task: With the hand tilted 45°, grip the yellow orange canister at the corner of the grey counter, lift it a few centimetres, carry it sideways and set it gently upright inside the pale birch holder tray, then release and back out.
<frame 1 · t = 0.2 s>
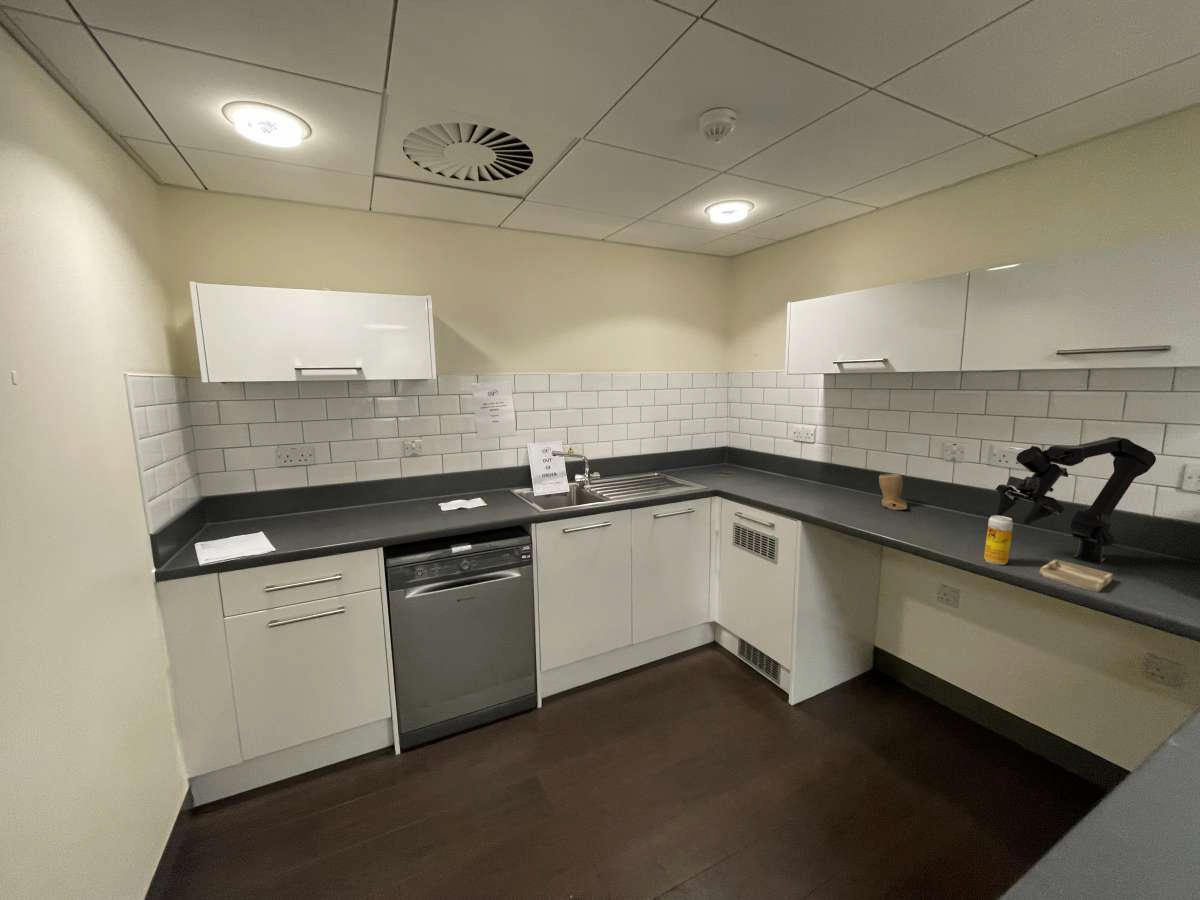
hand: (1011, 519, 156), 14 cm above the countertop, tool tilted 35°, fingers open, 9 cm apart
tan boot: (891, 506, 222), on the countertop
holder tray: (1074, 578, 145), on the countertop
yellow orange canister: (995, 562, 158), on the countertop
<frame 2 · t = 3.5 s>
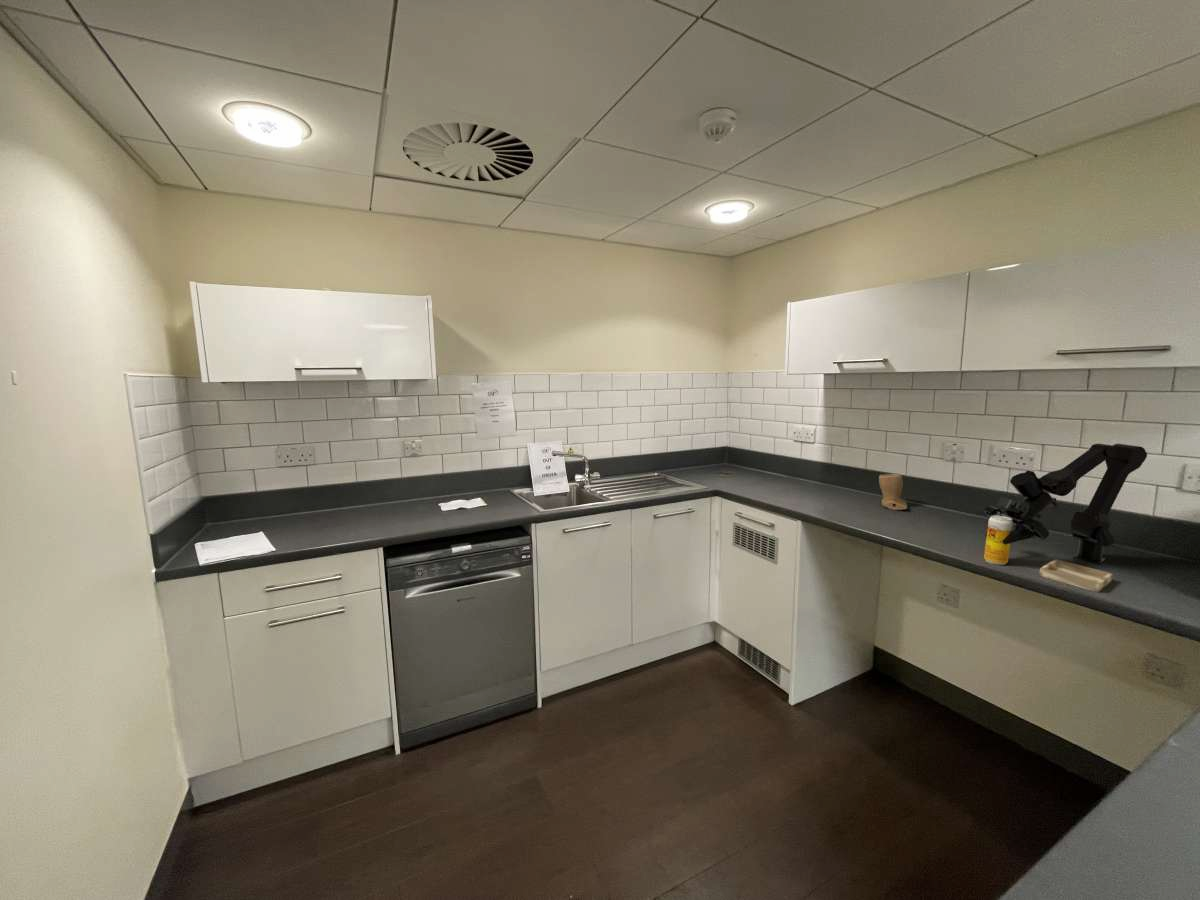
hand: (994, 539, 156), 8 cm above the countertop, tool tilted 45°, fingers closed on yellow orange canister, 6 cm apart
yellow orange canister: (995, 562, 158), on the countertop, touching gripper
everything else where it was.
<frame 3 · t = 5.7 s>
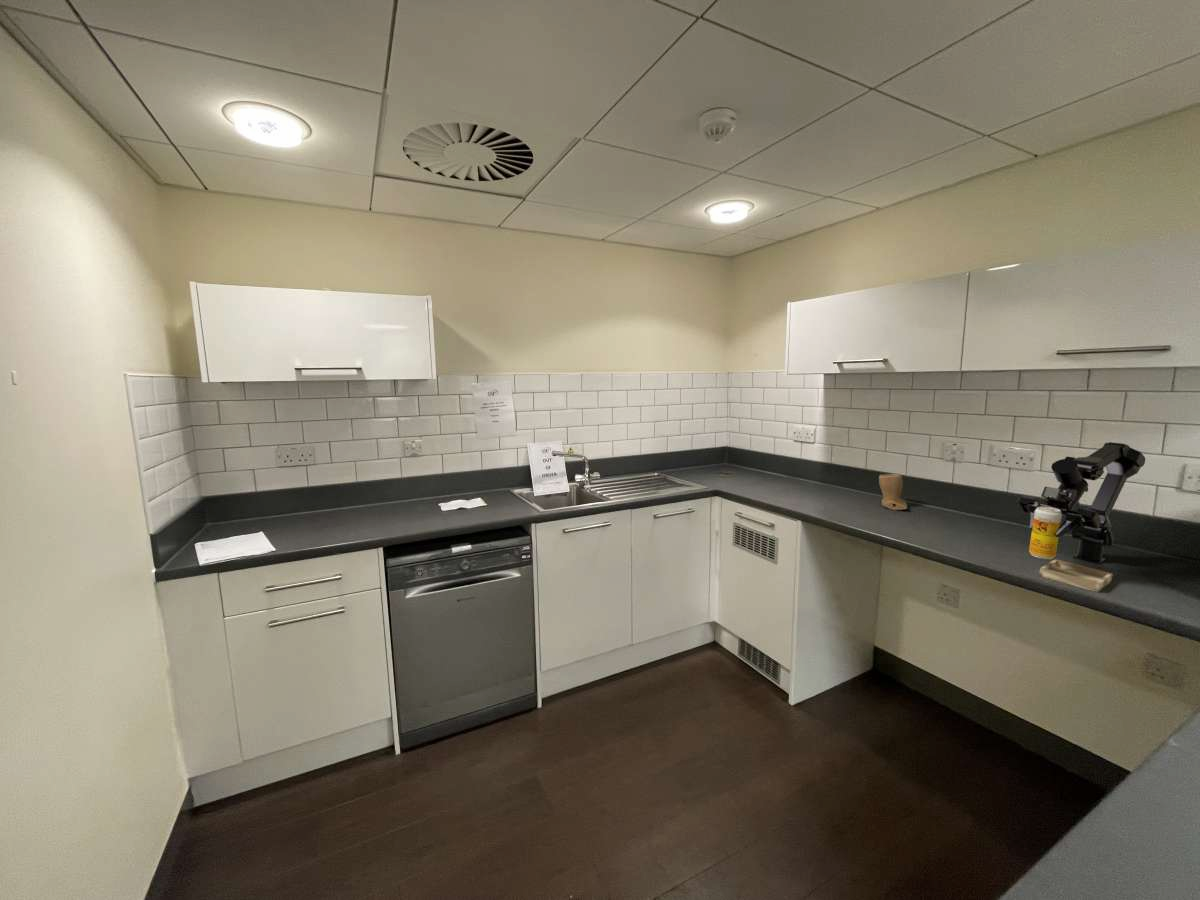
hand: (1043, 533, 146), 13 cm above the countertop, tool tilted 45°, fingers closed on yellow orange canister, 6 cm apart
yellow orange canister: (1041, 556, 148), point 5 cm above the countertop, touching gripper
everything else where it was.
when the fingers open (9 cm above the countertop, at t = 7.8 s): yellow orange canister stays where it is, resting on holder tray.
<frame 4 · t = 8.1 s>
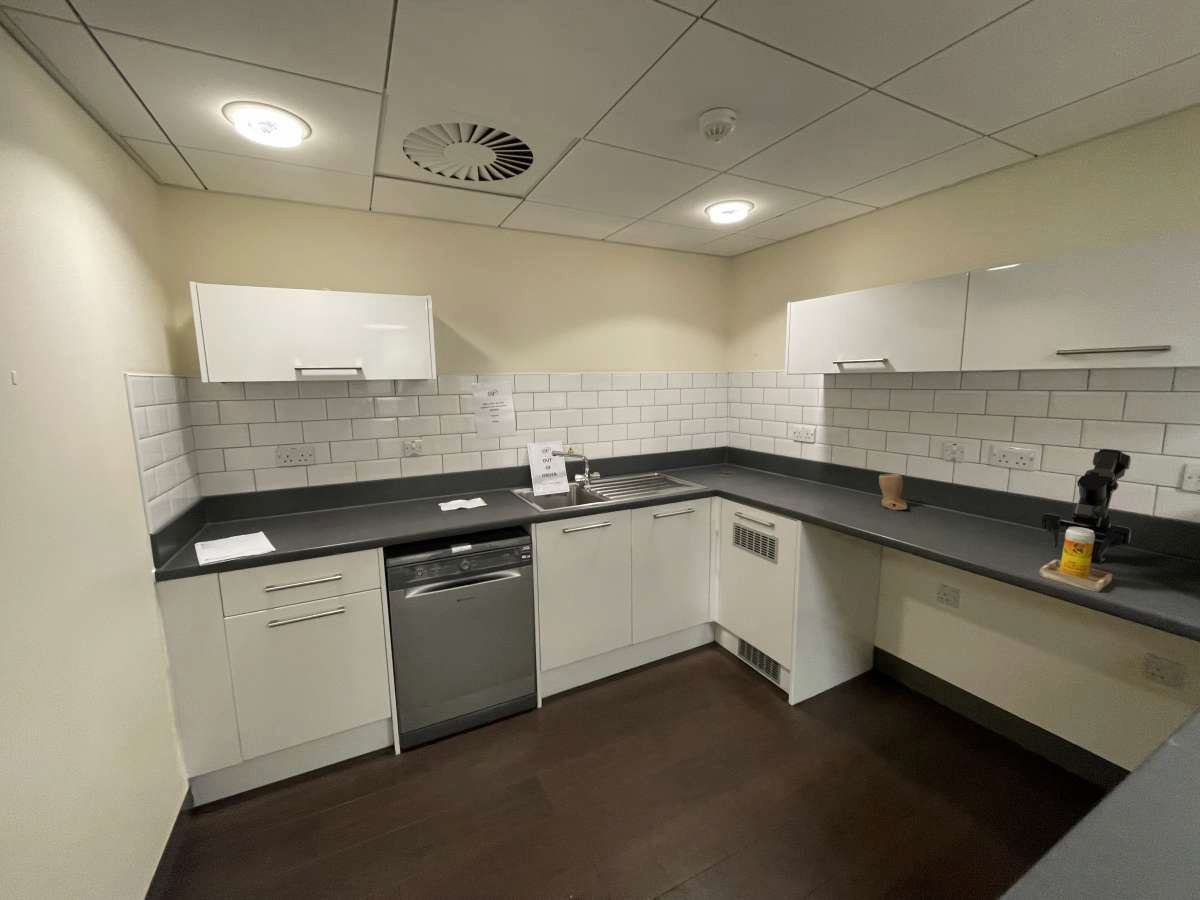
hand: (1076, 551, 142), 9 cm above the countertop, tool tilted 45°, fingers open, 9 cm apart
yellow orange canister: (1072, 578, 144), point 1 cm above the countertop, touching holder tray
everything else where it was.
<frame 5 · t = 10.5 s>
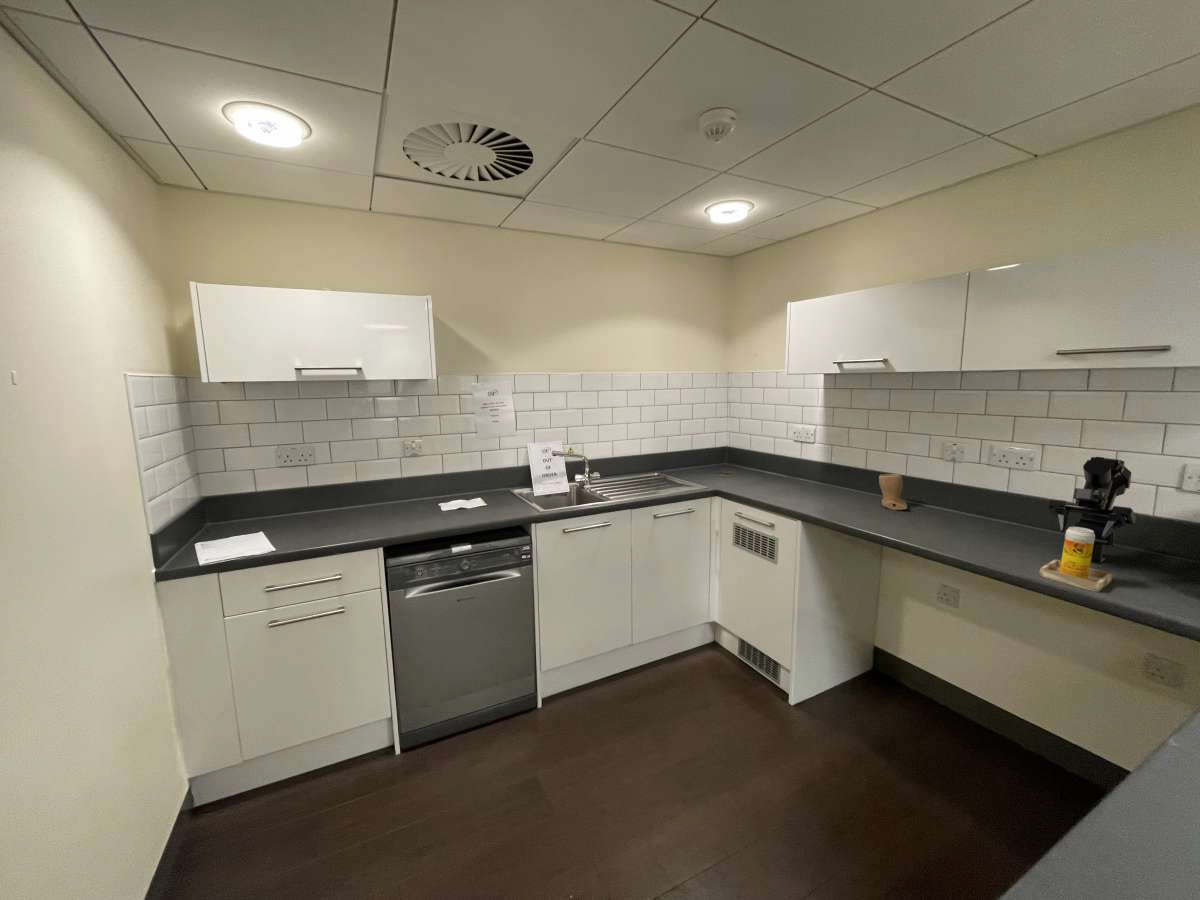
hand: (1081, 534, 147), 13 cm above the countertop, tool tilted 40°, fingers open, 9 cm apart
nothing on the countertop moved.
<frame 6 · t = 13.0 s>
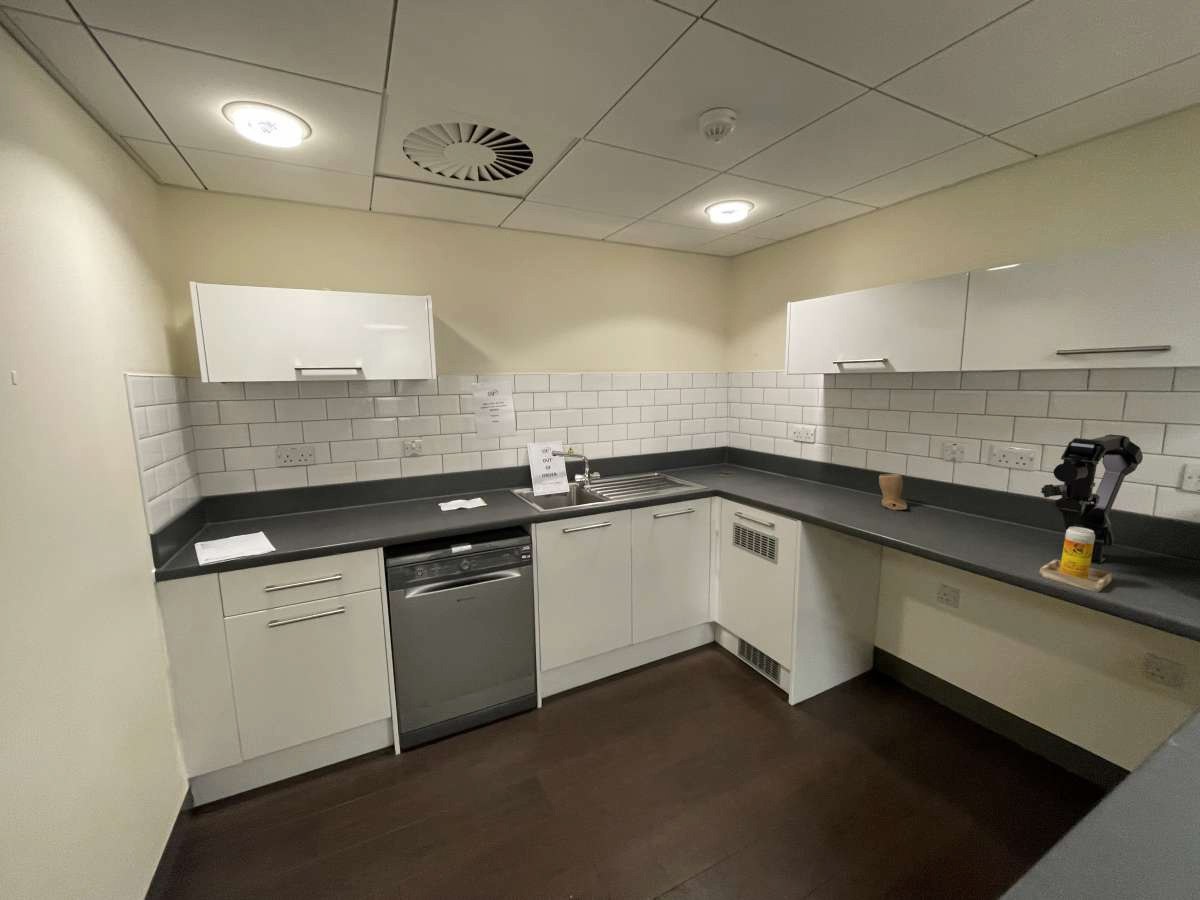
hand: (1072, 527, 152), 13 cm above the countertop, tool pointing down, fingers open, 9 cm apart
nothing on the countertop moved.
at the end: yellow orange canister inside the target area on the holder tray (1.9 cm from its centre), point 0.6 cm above the holder tray's base; yellow orange canister tilted 0°; the gripper is holding nothing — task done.
